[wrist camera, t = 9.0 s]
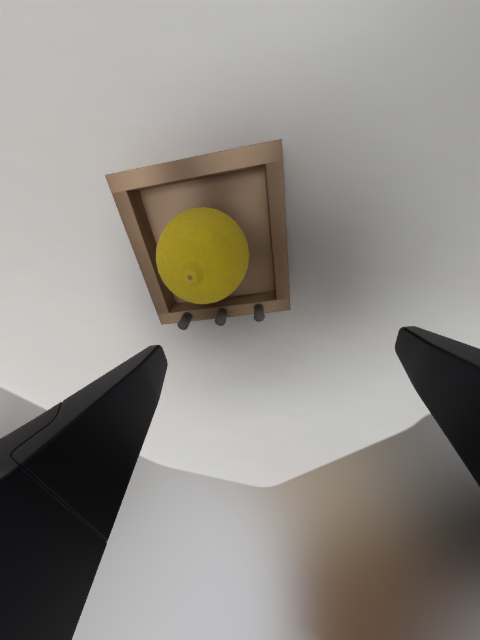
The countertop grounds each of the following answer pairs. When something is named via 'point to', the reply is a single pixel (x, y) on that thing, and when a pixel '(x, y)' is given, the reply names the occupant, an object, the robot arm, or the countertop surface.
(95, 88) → the countertop surface
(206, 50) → the countertop surface
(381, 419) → the countertop surface
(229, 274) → the lemon
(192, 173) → the tray
